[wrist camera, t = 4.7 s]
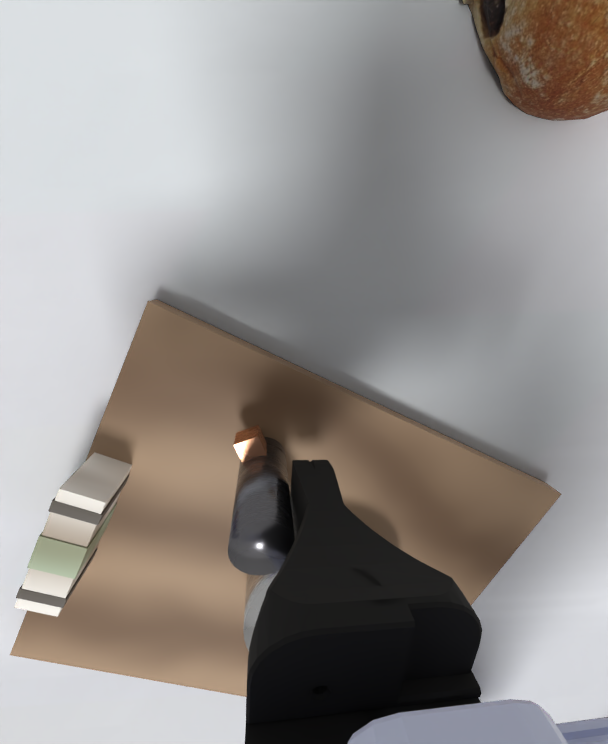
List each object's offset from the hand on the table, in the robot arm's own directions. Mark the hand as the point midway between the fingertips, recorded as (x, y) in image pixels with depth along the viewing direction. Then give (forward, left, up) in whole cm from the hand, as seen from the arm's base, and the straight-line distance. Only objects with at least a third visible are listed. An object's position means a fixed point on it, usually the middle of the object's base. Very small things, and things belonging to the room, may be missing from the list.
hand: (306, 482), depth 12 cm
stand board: (-7, -3, -3) cm, 8 cm away
